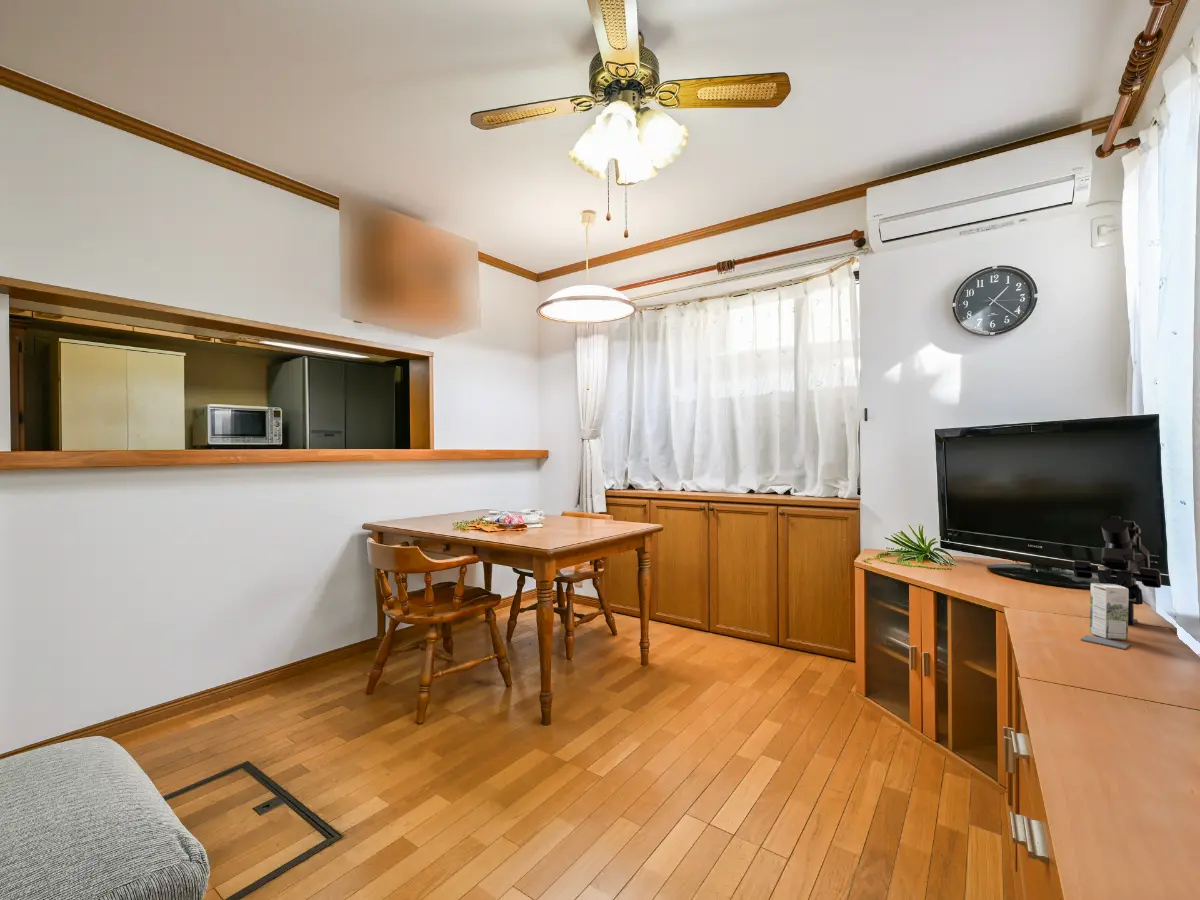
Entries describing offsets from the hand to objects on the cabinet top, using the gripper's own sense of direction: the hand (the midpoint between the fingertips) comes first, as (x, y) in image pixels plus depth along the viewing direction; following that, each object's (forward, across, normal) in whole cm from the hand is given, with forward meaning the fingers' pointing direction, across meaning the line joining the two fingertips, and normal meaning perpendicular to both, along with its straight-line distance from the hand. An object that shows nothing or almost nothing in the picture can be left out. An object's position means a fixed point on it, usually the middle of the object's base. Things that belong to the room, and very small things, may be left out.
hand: (1112, 597), depth 157 cm
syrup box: (+12, 0, +2) cm, 13 cm away
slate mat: (+17, 0, -3) cm, 17 cm away
